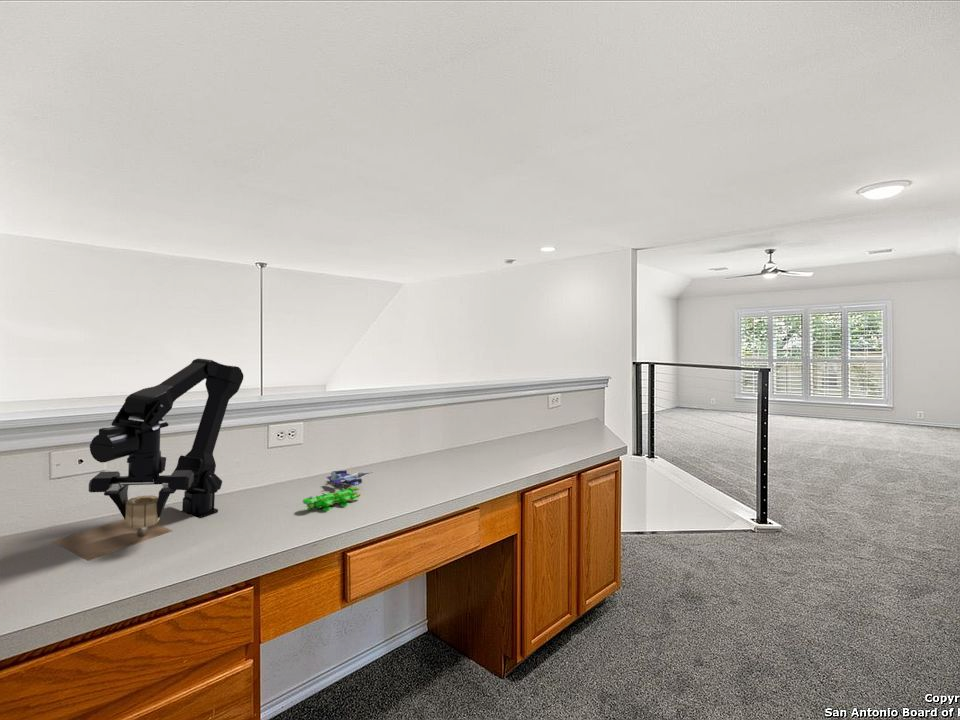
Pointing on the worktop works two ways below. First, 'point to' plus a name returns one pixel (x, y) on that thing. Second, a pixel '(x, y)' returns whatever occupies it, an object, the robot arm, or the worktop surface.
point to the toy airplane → (346, 478)
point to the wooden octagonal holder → (141, 511)
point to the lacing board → (107, 539)
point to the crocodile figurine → (332, 499)
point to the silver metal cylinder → (142, 531)
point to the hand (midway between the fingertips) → (142, 517)
